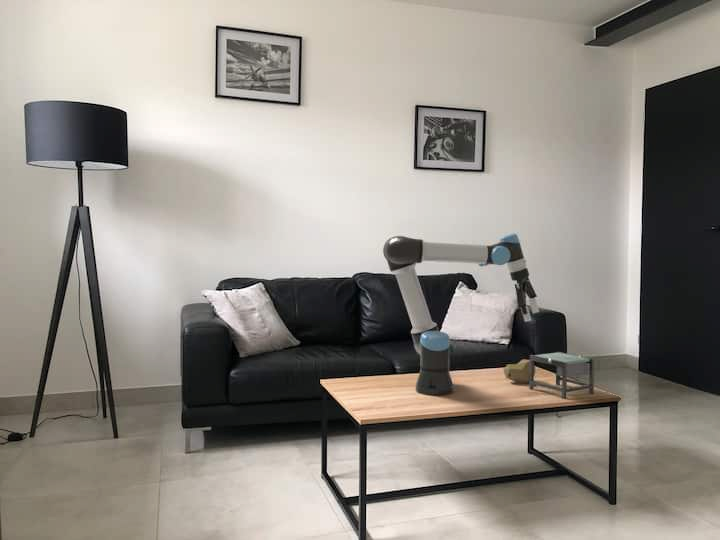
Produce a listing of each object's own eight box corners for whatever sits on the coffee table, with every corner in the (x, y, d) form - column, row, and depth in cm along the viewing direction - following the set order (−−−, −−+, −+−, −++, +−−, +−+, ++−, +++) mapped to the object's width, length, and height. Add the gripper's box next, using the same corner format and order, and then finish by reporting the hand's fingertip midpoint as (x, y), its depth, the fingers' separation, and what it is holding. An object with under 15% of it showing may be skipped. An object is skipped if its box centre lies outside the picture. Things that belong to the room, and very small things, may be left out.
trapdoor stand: (563, 399, 228) (563, 362, 227) (528, 389, 243) (528, 354, 243) (594, 393, 237) (595, 358, 236) (558, 384, 253) (559, 351, 252)
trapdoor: (565, 377, 229) (565, 362, 229) (534, 369, 243) (534, 355, 243) (589, 373, 236) (589, 358, 236) (557, 366, 250) (557, 352, 250)
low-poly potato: (536, 380, 260) (515, 365, 267) (545, 362, 254) (522, 347, 261) (518, 395, 251) (496, 379, 257) (526, 377, 245) (503, 360, 251)
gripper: (518, 273, 240) (533, 323, 241) (533, 261, 261) (547, 307, 262) (501, 277, 244) (516, 326, 245) (517, 265, 265) (531, 310, 266)
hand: (532, 316), depth 254 cm, fingers open, 13 cm apart
